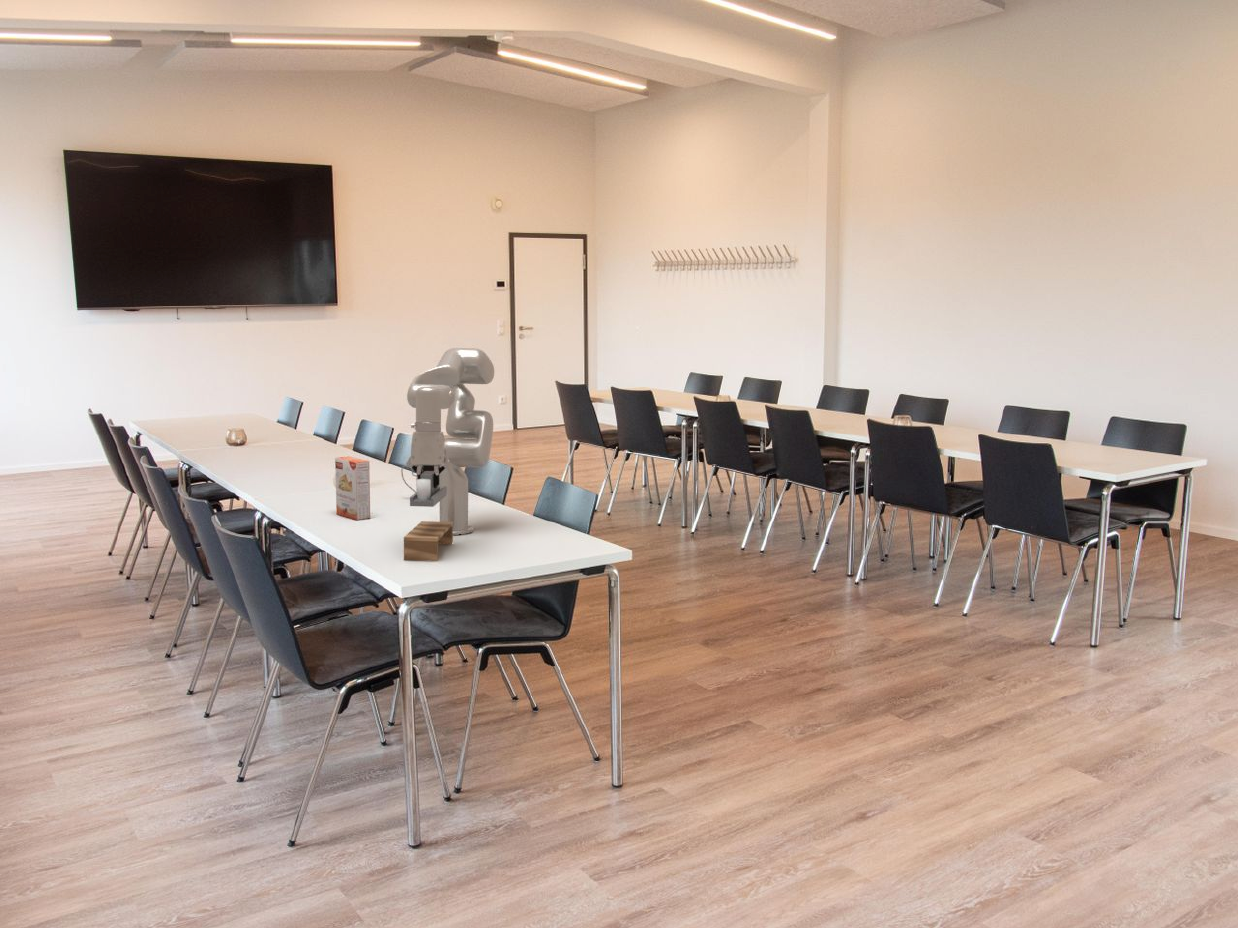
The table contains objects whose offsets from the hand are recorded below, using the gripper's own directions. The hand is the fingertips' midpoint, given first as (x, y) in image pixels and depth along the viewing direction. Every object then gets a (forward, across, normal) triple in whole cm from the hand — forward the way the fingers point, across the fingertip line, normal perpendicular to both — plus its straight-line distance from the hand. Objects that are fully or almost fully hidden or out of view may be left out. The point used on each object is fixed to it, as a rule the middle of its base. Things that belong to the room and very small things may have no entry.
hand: (428, 486), depth 325 cm
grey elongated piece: (+4, 0, 0) cm, 4 cm away
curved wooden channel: (+20, 0, 0) cm, 20 cm away
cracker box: (+20, -38, +50) cm, 66 cm away
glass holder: (+20, -22, +86) cm, 91 cm away
